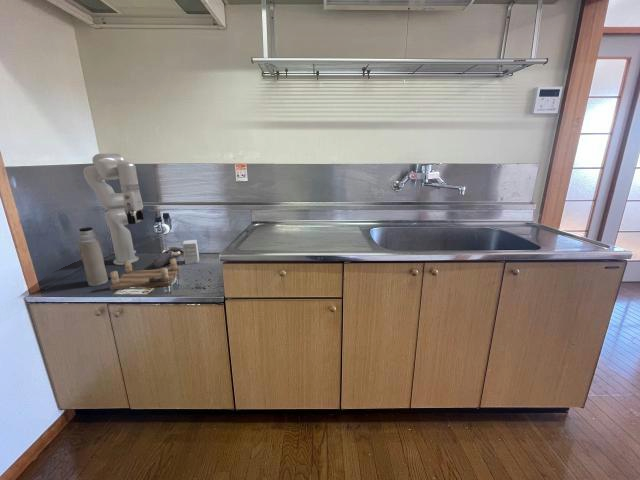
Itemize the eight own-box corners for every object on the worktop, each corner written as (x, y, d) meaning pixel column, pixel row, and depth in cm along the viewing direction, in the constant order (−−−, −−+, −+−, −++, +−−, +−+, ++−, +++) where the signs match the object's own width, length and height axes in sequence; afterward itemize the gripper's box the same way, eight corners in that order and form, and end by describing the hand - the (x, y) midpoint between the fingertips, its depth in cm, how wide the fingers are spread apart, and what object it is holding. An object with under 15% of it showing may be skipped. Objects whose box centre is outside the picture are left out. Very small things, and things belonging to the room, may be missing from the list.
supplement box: (186, 260, 172) (183, 240, 169) (199, 259, 174) (197, 239, 171) (184, 264, 166) (182, 243, 162) (198, 263, 168) (195, 242, 164)
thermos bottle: (85, 286, 137) (71, 230, 129) (91, 280, 144) (78, 226, 136) (105, 284, 139) (92, 229, 131) (110, 278, 147) (98, 225, 139)
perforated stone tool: (159, 269, 158) (157, 258, 156) (150, 269, 159) (148, 257, 157) (176, 260, 172) (174, 249, 170) (168, 259, 173) (167, 249, 171)
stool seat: (127, 274, 151) (124, 260, 149) (179, 271, 155) (177, 257, 153) (110, 289, 134) (106, 274, 132) (169, 285, 138) (166, 270, 136)
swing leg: (148, 282, 137) (146, 271, 135) (150, 279, 140) (148, 268, 138) (167, 281, 138) (165, 269, 136) (170, 278, 141) (168, 267, 139)
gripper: (130, 190, 134) (137, 225, 139) (145, 186, 150) (150, 217, 155) (113, 190, 132) (120, 225, 137) (129, 186, 149) (135, 218, 154)
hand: (136, 221), depth 146 cm, fingers open, 9 cm apart
